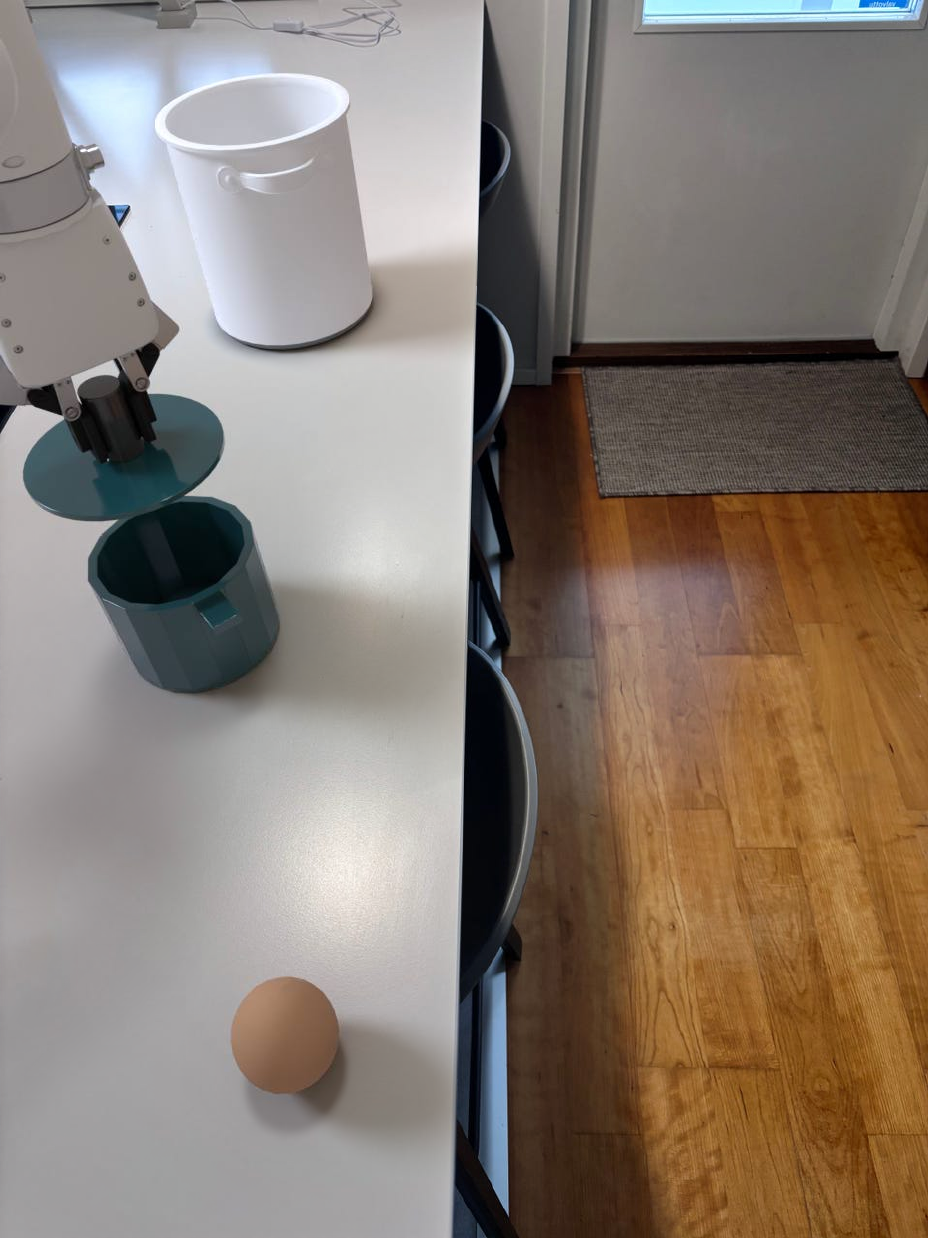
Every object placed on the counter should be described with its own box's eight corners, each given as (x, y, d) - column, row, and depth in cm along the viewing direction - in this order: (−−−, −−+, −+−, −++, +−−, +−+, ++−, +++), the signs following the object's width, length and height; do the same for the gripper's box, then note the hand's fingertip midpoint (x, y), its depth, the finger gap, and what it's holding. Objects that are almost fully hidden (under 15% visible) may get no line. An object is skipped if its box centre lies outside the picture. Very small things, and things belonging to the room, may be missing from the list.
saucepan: (183, 739, 78) (143, 659, 71) (94, 610, 89) (50, 528, 81) (322, 657, 83) (299, 573, 76) (222, 544, 94) (193, 460, 86)
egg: (227, 1071, 61) (191, 1026, 55) (292, 985, 64) (265, 934, 58) (303, 1131, 58) (275, 1091, 52) (367, 1039, 62) (347, 991, 55)
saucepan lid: (72, 558, 64) (34, 481, 59) (0, 457, 72) (-39, 382, 67) (262, 467, 69) (241, 390, 64) (175, 383, 78) (151, 309, 73)
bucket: (407, 336, 117) (381, 127, 99) (235, 382, 113) (175, 173, 95) (347, 247, 133) (315, 54, 115) (195, 285, 129) (137, 90, 111)
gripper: (123, 132, 61) (199, 378, 75) (-140, 213, 55) (-5, 466, 68) (173, 166, 57) (244, 421, 70) (-105, 258, 51) (31, 518, 64)
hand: (120, 441), depth 69 cm, fingers closed on saucepan lid, 3 cm apart
